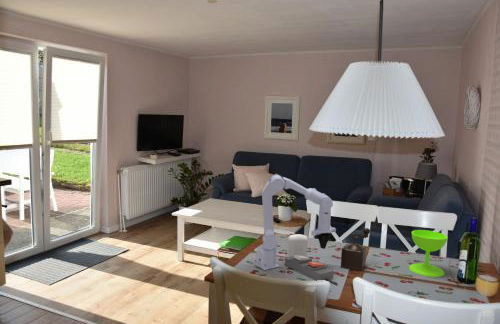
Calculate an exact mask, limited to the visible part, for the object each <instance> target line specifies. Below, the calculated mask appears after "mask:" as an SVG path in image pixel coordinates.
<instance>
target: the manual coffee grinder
mask: <svg viewBox="0 0 500 324" xmlns="http://www.w3.org/2000/svg"><path fill="white" fill-rule="evenodd" d="M362 233H363V235H362V236H357V233H353V234H352V235H353V236H352V238H353V242H352V243H350V244H349V243H346V244H345V245H344V246H343V247H342V248H341V254H340V255H341V256H340V268H342V269H348V270H353V271H357V272H362V271H363V270H364V269H365V268H366V264H367V263H366V260H367V246H363V245H362V244H361V245H360V244H358V243H356V242H357V241H356V239H366V238H369V234H370V233H371V229H370V228H367V227H364V228H362Z"/></svg>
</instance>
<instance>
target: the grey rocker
mask: <svg viewBox="0 0 500 324" xmlns="http://www.w3.org/2000/svg"><path fill="white" fill-rule="evenodd" d="M307 257H308V256H307ZM307 257H305V256H297V255H294V258H295V259H297V260H303V261H304V260H309V258H310V257H308V258H307Z"/></svg>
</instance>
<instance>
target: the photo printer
mask: <svg viewBox="0 0 500 324" xmlns="http://www.w3.org/2000/svg"><path fill="white" fill-rule="evenodd" d="M287 239H288V240H287V251H286V252H287V253H286V254H287V255H286V258H287V257H292V256H294V255H299V256H306V257H308V243H309V242H308V239H309V238H308V236H307V235H305V234H300V233H298V234H297V233H296V234H295V233H294V234H291V235H288V238H287Z"/></svg>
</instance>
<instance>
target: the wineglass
mask: <svg viewBox="0 0 500 324" xmlns="http://www.w3.org/2000/svg"><path fill="white" fill-rule="evenodd" d="M411 238H412V240H413V242H414V245H415V246H417V247H418V248H419V249H421V250H423V251H425V254H424V263H422V262H419V263H412V264H410V265H409V266H408V269H409V271H411V272H412V273H415V274H417V275H420V276H425V277H430V278H439V277H443V276H445V271H444V270H443V269H442V268H440V267H438V266H436V265H433V264H430V256H431V252H436V251H438V250H441V249H443V247H445V246H446V243H447V242H448V236H447V235H446V234H444V233H442V232H438V231H433V230H428V229H427V230H425V229H424V230H423V229H417V230H416V229H415V230H412V231H411Z"/></svg>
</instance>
